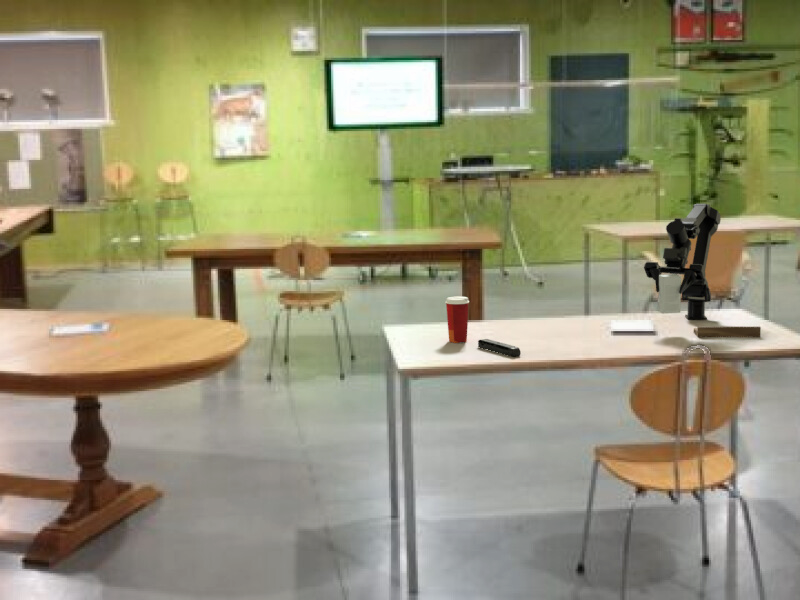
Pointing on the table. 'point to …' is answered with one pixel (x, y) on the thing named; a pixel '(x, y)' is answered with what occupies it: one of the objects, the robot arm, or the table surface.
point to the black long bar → (499, 347)
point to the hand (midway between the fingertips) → (668, 292)
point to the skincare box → (669, 293)
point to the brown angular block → (727, 331)
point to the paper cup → (457, 318)
